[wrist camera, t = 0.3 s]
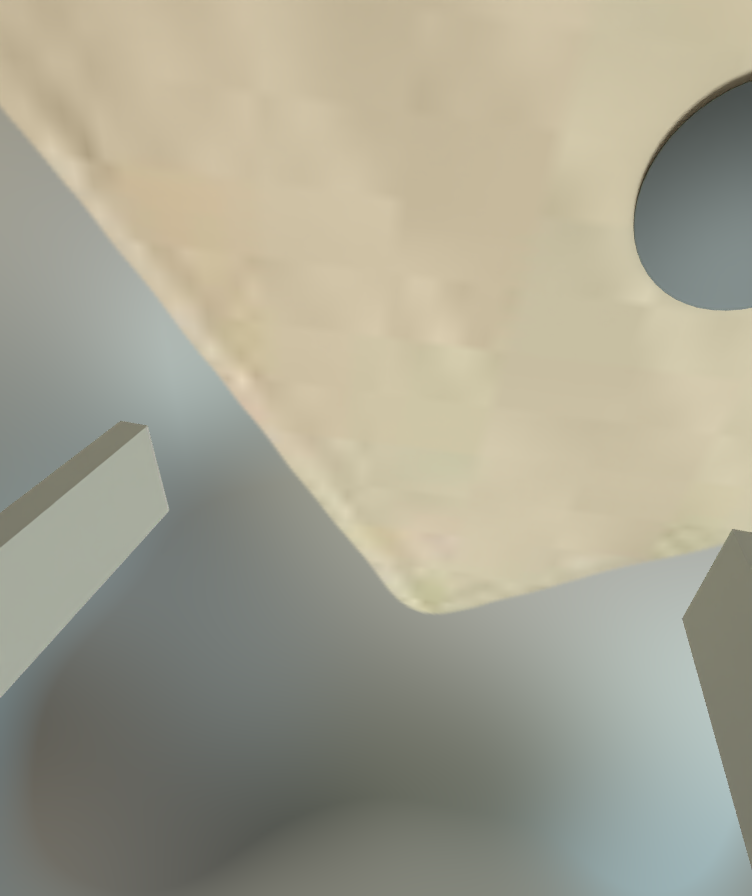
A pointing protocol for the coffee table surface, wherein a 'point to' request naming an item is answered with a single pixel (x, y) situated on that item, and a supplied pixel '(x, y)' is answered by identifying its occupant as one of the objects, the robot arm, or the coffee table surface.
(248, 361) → the coffee table surface
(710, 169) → the coaster
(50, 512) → the robot arm
